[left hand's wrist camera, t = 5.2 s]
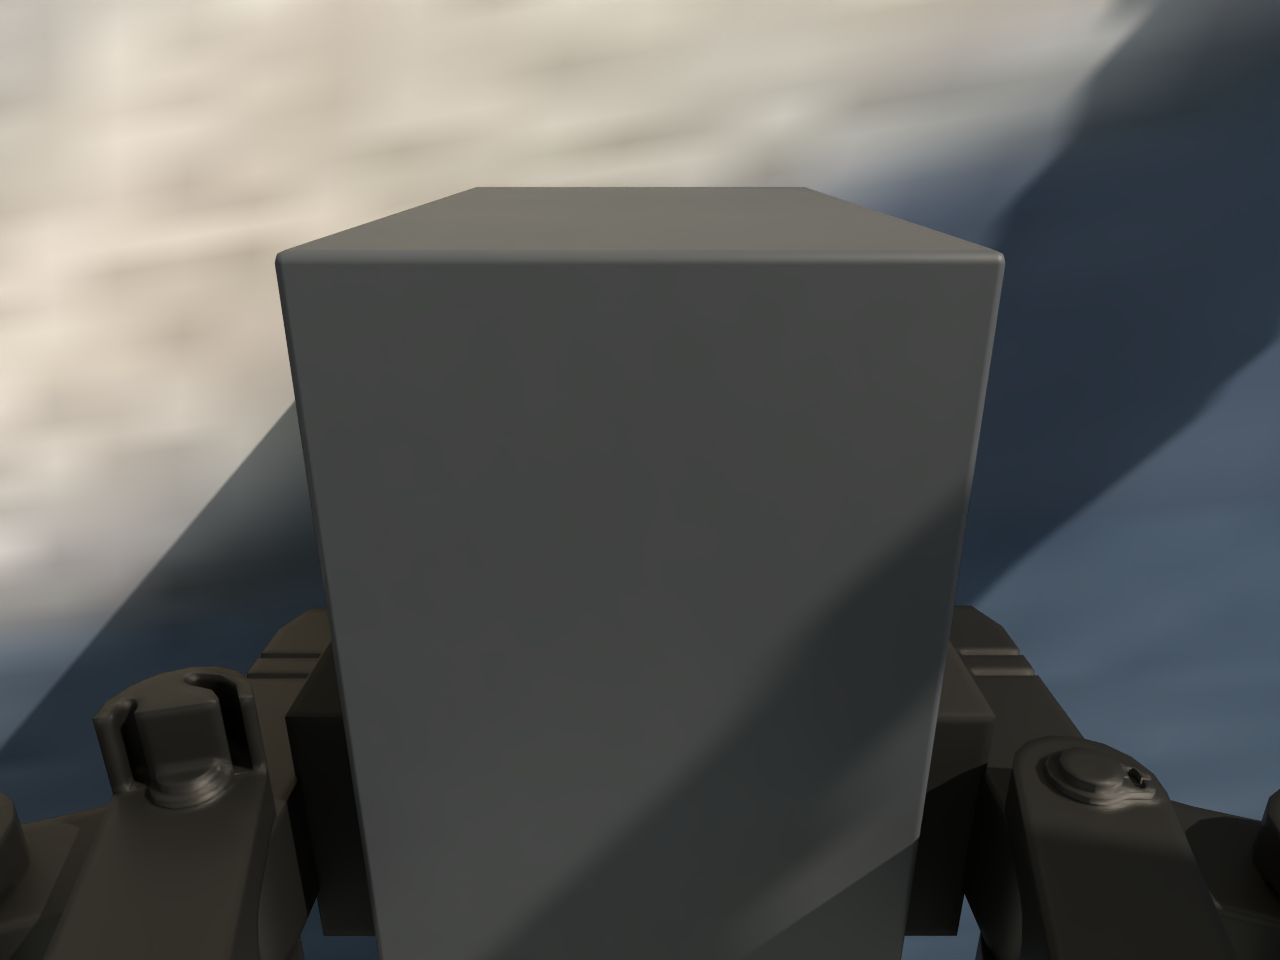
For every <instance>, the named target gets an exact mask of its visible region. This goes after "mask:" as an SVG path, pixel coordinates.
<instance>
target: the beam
mask: <svg viewBox="0 0 1280 960" xmlns="http://www.w3.org/2000/svg"><path fill="white" fill-rule="evenodd" d="M275 267H276V274H277V281H278V287H279V294H280V301H281V307H282V314H283V321H284V327H285V334H286V341H287V347H288V354H289V361H290V367H291V374H292V381H293V388H294V394H295V401H296V408H297V414H298V421H299V428H300V434H301V441H302V448H303V454H304V461H305V468H306V474H307V481H308V488H309V494H310V501H311V508H312V515H313V521H314V528H315V535H316V541H317V548H318V555H319V561H320V568H321V575H322V581H323V588H324V595H325V601H326V608H327V615H328V622H329V628H330V635H331V642H332V648H333V655H334V662H335V668H336V675H337V682H338V688H339V695H340V702H341V708H342V715H343V722H344V728H345V735H346V742H347V749H348V755H349V762H350V769H351V775H352V782H353V789H354V795H355V802H356V809H357V815H358V822H359V829H360V835H361V842H362V849H363V856H364V862H365V869H366V876H367V882H368V889H369V896H370V902H371V909H372V916H373V922H374V929H375V936H376V942H377V949H378V956H379V960H901V956H902V949H903V942H904V936H905V929H906V922H907V916H908V909H909V902H910V896H911V889H912V882H913V876H914V869H915V862H916V856H917V849H918V842H919V836H920V829H921V822H922V816H923V809H924V802H925V796H926V789H927V782H928V776H929V769H930V762H931V756H932V749H933V742H934V736H935V729H936V722H937V716H938V709H939V702H940V696H941V689H942V682H943V676H944V669H945V662H946V656H947V649H948V642H949V636H950V629H951V623H952V616H953V609H954V603H955V596H956V589H957V583H958V576H959V569H960V563H961V556H962V549H963V543H964V536H965V529H966V523H967V516H968V509H969V503H970V496H971V489H972V483H973V476H974V469H975V463H976V456H977V449H978V443H979V436H980V429H981V423H982V416H983V409H984V403H985V396H986V389H987V383H988V376H989V369H990V363H991V356H992V349H993V343H994V336H995V329H996V323H997V316H998V309H999V303H1000V296H1001V289H1002V283H1003V276H1004V269H1005V259H1004V255H1003V254H1002V253H1000V252H998V251H995V250H993V249H990V248H987V247H984V246H981V245H978V244H975V243H972V242H969V241H965V240H962V239H959V238H956V237H953V236H950V235H947V234H944V233H941V232H938V231H935V230H932V229H929V228H926V227H923V226H920V225H917V224H914V223H911V222H908V221H905V220H902V219H899V218H896V217H893V216H890V215H887V214H884V213H881V212H878V211H875V210H872V209H869V208H866V207H863V206H860V205H857V204H854V203H851V202H848V201H845V200H842V199H839V198H836V197H833V196H830V195H827V194H823V193H820V192H817V191H814V190H811V189H808V188H805V187H476V188H473V189H470V190H467V191H464V192H461V193H457V194H454V195H451V196H448V197H445V198H442V199H439V200H436V201H433V202H430V203H427V204H424V205H421V206H418V207H415V208H412V209H409V210H406V211H403V212H400V213H397V214H393V215H390V216H387V217H384V218H381V219H378V220H375V221H372V222H369V223H366V224H363V225H360V226H357V227H354V228H351V229H348V230H345V231H342V232H339V233H336V234H333V235H329V236H326V237H323V238H320V239H317V240H314V241H311V242H308V243H305V244H302V245H299V246H296V247H293V248H290V249H287V250H284V251H282V252H280V253H278V254H277V256H276V260H275Z"/></svg>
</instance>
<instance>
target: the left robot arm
mask: <svg viewBox="0 0 1280 960" xmlns="http://www.w3.org/2000/svg"><path fill="white" fill-rule="evenodd" d="M93 723H94V726H95V730H96V734H97V737H98V741H99V744H100V748H101V752H102V755H103V759H104V763H105V766H106V770H107V773H108V777H109V781H110V784H111V788H112V791H113V795H112V798H111V800H110V802H109V804H108V805H105V806H101V807H98V808H94V809H91V810H87V811H82V812H77V813H73V814H68V815H63V816H59V817H54V818H49V819H45V820H40V821H35V822H31V823H26V824H22V825H21V824H20V821H19V818H18V815H17V812H16V809H15V806H14V803H13V801H12V800H11V799H10V798H8V797H7V796H6V795H5V794H3V793H2V792H1V791H0V960H304V953H303V948H302V942H301V937H300V935H301V932H302V930H303V928H304V925H305V923H306V920H307V918H308V916H309V913H310V911H311V909H312V906H313V904H314V902H315V899H316V897H317V900H318V906H319V912H320V917H321V923H322V928H323V934H324V936H375V929H374V922H373V916H372V909H371V902H370V896H369V889H368V882H367V876H366V869H365V862H364V856H363V849H362V842H361V835H360V829H359V822H358V815H357V809H356V802H355V795H354V789H353V782H352V775H351V769H350V762H349V755H348V749H347V742H346V735H345V728H344V722H343V715H342V708H341V702H340V695H339V688H338V682H337V675H336V668H335V662H334V655H333V648H332V642H331V635H330V628H329V622H328V615H327V609H309V610H307V611H306V612H304V613H303V614H301V615H300V616H298V617H297V618H295V619H294V620H292V621H291V622H289V623H288V624H286V625H285V626H283V627H282V628H280V629H279V630H278V631H277V633H276V634H275V636H274V637H273V638H272V640H271V641H270V642H269V644H268V645H267V647H266V648H265V649H264V651H263V652H262V656H261V658H258V659H257V660H256V662H255V663H254V664H253V666H252V667H251V669H250V670H249V671H248V673H247V678H246V677H245V676H244V675H243V674H241V673H240V672H239V671H236V670H231V669H227V668H223V667H218V666H209V667H188V668H184V669H179V670H175V671H170V672H166V673H161V674H158V675H156V676H153V677H151V678H148V679H146V680H143V681H141V682H139V683H136V684H134V685H131V686H130V687H128V688H127V689H125V690H124V691H122V692H121V693H119V694H118V695H116V696H115V697H113V698H111V699H110V700H108V701H107V702H106V703H105V705H104V706H103V707H102V708H101V709H100V711H99V712H98V713H97V714H96V715H95V716H94V718H93ZM964 893H965V896H966V898H967V900H968V903H969V905H970V907H971V910H972V912H973V914H974V917H975V919H976V922H977V924H978V926H979V929H980V931H981V932H980V937H979V942H978V948H977V953H976V958H975V960H1280V789H1279V790H1278V791H1277V792H1275V793H1274V794H1273V795H1272V796H1270V797H1269V800H1268V803H1267V806H1266V809H1265V812H1264V815H1263V818H1262V821H1258V820H1253V819H1249V818H1244V817H1239V816H1235V815H1230V814H1225V813H1221V812H1216V811H1212V810H1207V809H1202V808H1198V807H1193V806H1189V805H1186V804H1182V803H1179V802H1175V801H1172V800H1170V798H1169V796H1168V794H1167V792H1166V791H1165V789H1164V788H1163V786H1162V785H1161V784H1160V782H1159V781H1158V779H1157V778H1156V777H1155V775H1154V774H1153V773H1152V772H1151V771H1149V770H1148V769H1147V768H1145V767H1144V766H1143V765H1141V764H1140V763H1139V762H1137V761H1136V760H1135V759H1133V758H1132V757H1131V756H1129V755H1126V754H1124V753H1122V752H1120V751H1118V750H1116V749H1114V748H1111V747H1109V746H1107V745H1105V744H1102V743H1098V742H1095V741H1091V740H1087V739H1084V737H1083V736H1082V735H1081V733H1080V732H1079V731H1078V729H1077V728H1076V726H1075V725H1074V724H1073V722H1072V721H1071V720H1070V718H1069V717H1068V716H1067V714H1066V713H1065V711H1064V710H1063V709H1062V707H1061V706H1060V705H1059V703H1058V702H1057V701H1056V699H1055V698H1054V696H1053V695H1052V694H1051V692H1050V691H1049V690H1048V688H1047V687H1046V686H1045V684H1044V683H1043V681H1042V680H1041V679H1040V677H1039V676H1038V675H1035V674H1034V669H1033V668H1032V666H1031V665H1030V664H1029V662H1028V661H1027V660H1026V658H1025V657H1024V656H1023V655H1020V650H1019V649H1018V647H1017V646H1016V645H1015V643H1014V642H1013V640H1012V639H1011V638H1010V636H1009V635H1008V634H1007V632H1006V631H1005V630H1004V628H1003V627H1002V626H1001V625H999V624H998V623H996V622H995V621H993V620H992V619H990V618H989V617H987V616H986V615H984V614H983V613H981V612H980V611H978V610H977V609H975V608H974V607H972V606H954V609H953V616H952V623H951V629H950V636H949V642H948V649H947V656H946V662H945V669H944V676H943V682H942V689H941V696H940V702H939V709H938V716H937V722H936V729H935V736H934V742H933V749H932V756H931V762H930V769H929V776H928V782H927V789H926V796H925V802H924V809H923V816H922V822H921V829H920V836H919V842H918V849H917V856H916V862H915V869H914V876H913V882H912V889H911V896H910V902H909V909H908V916H907V922H906V929H905V936H957V932H958V926H959V921H960V915H961V909H962V904H963V898H964Z"/></svg>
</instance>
